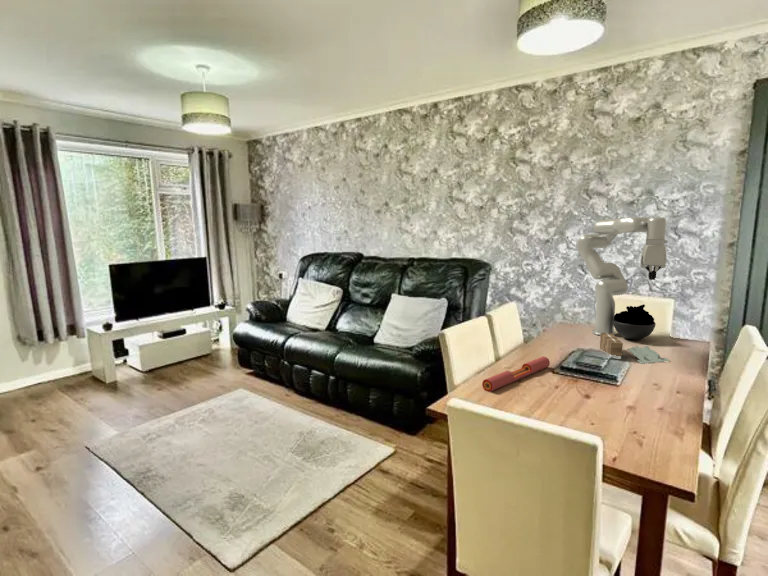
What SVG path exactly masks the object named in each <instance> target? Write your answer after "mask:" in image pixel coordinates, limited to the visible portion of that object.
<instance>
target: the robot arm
mask: <svg viewBox="0 0 768 576" xmlns="http://www.w3.org/2000/svg"><path fill="white" fill-rule="evenodd" d="M666 225H667V219H666V218H665V217H660V216H659V217H658V216H657V217H650V216H649V217H648V216H640V217H639V216H635V217H626V218H625V217H624V218H621V217H618V218H608V219H600V220H598V221H596V223H595V224H594V225H593V229H594V232H595V233H589V234H583V235H581V236H580V237H579V238H578V240H577V246H576V247H577V251H578V253H579V255H580V257H581V258H582V259H583V262H584V263H585V265H586V267H587V269H588V271H589V273H590V276H591V277H592V278H593V279H594V280H599V281H597V282H596V283H595V287H594V289H595V295H596V297H595V299H596V303H595V304H596V305H595V326H594V329H592V330H591V334H593V335H595V336H600V337H601V333H612V334H613V335H614V336H615V337H616V336H617V333H618V332H617V331H616V330H615V327H614V325H613V319H614V316H615V314H616V302H615V299H614V297H613V296H620V295H624V294H626V293H627V292H628V288H629V285H628V282H627V280H626V278H625V276H624V275H623V273H622V270H621V269H620V267H619V266H618V265H617V264H616V263H613V262H605V261H603V260H602V258H601V256H600V254H599V253H598V252H597V251H595V250H594V249H604V248H606V247H608V246H609V245H610V244H611V243H612V242H613V240H614V239H615V238H616V237H617V236H619V235H620V234H625V233H626V234H627V233H629V234H631V233H646V237H645V238H646V239H645V244H644V245H643V247H642V251H641V256H640V268H643V269H646V271H648V272H647V273H648V274H647V276H648V277H647V278H648V279H649V280H650V281H655V280H656V278H657V272H658V271H660V270H661V269H665V268H666V263H667V248H666V245H665V244H668V240H666V239H665V236H666Z"/></svg>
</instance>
